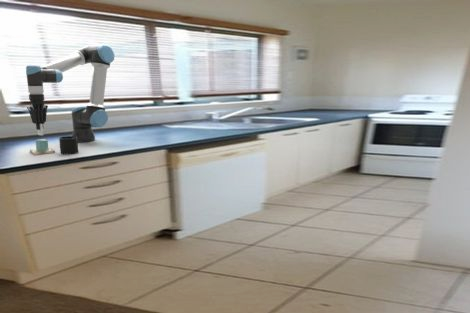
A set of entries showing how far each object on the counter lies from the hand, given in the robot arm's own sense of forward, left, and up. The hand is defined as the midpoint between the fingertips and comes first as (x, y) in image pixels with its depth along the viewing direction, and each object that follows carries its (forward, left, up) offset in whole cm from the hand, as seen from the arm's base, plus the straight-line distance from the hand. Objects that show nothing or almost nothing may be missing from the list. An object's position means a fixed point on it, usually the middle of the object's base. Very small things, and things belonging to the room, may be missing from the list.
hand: (40, 135), depth 207 cm
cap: (0, 0, -9) cm, 9 cm away
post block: (0, 0, -10) cm, 10 cm away
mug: (-12, +9, -10) cm, 18 cm away
